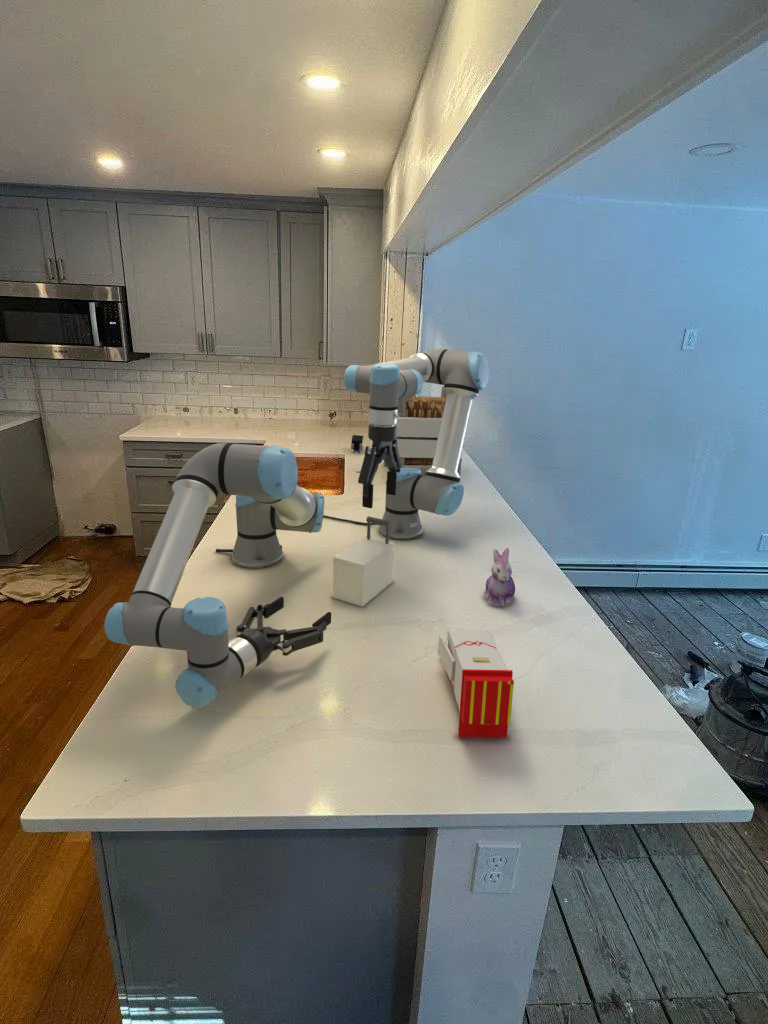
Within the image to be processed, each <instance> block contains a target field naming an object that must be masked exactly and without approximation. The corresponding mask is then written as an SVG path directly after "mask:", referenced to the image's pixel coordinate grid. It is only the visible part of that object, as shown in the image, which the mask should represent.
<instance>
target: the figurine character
mask: <svg viewBox="0 0 768 1024" xmlns="http://www.w3.org/2000/svg"><path fill="white" fill-rule="evenodd" d="M363 441H364V435H360V434H359V435H357V434H352V435H351V443H350V450H351V451H352V450H353V451H352V453H355V452H358V454H360V453H361V451H362V450H363V448H364V446H363V443H364V442H363Z"/></svg>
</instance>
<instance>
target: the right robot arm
mask: <svg viewBox="0 0 768 1024" xmlns="http://www.w3.org/2000/svg"><path fill="white" fill-rule="evenodd" d="M343 374H344V375H343V383H344V386H345V389H347V390H348V391H349V392H355V393H357V394H359V393H362V394H369V405H368V406H369V407H368V423H369V425H368V428H367V429H368V432H367V433H368V434H367V438H368V439H369V440H370V441H372V444H371V446H369V445H365V449H364V457H363V461H362V465H361V469H360V472H359V475H358V480H357V483H358V484H361V485H362V504H361V505H362V508H365V509H366V508H367V509H373V505H374V503H373V502H374V484H373V481H374V479H375V476H376V474H377V472H378V471H377V470H378V469H379V465H380V464H382V462H383V461H384V460H385V463H386V465H387V466H386V467H387V469H388V471H386V480H385V504H384V505H385V507H384V508H385V509H384V513H383V515H382V518H381V519H382V520H387V521H390V522H391V525H390V527H389V540H395V541H410V540H415V539H418V538H420V537H421V536H422V535H423V525H422V524H421V518H420V515H419V510H420V511H423V512H427V513H432V514H435V515H438V516H439V515H441V516H445V517H448V516H449V517H450V516H452V515H453V514H454V513H456V511H457V510H458V509H459V508H460V506H461V504H462V502H463V499H464V495H465V491H464V490H465V487H464V484H463V483H462V482H461V475H460V476H459V474H458V472H457V470H458V465H459V460H460V456H461V457H462V453H461V451H462V452H463V445H464V441H465V436H466V431H467V427H468V422H469V418H470V414H471V409H472V404H473V400H475V399H476V398H477V397H479V394H480V391H483V390H485V389H486V388H487V386H488V383H489V380H490V379H489V378H490V366H489V361H488V359H487V356H486V355H485V354H484V353H482V352H479V351H473V350H461V349H447V348H435V349H431V350H430V349H429V350H425V351H421V352H416V353H413V354H411V355H410V356H409V357H405V358H401V359H395V360H389V361H383V362H379V363H374V364H368V365H360V364H351V365H349V366H348V367H347V368H345V371H344V373H343ZM424 383H426V384H427V383H428V384H434V385H440V386H443V387H444V389H443V390H444V391H445V393H446V395H447V397H446V401H445V406H444V411H443V416H442V420H441V425H440V430H439V435H438V439H437V444H436V449H435V453H434V458H433V463H432V465H430V467H429V468H428V469H426V470H425V475H423V474H422V470H421V468H419V467H412V466H411V467H408V466H406V467H404V468H401V462H400V457H399V452H398V447H397V439H396V433H397V427H396V426H395V424H397V417H398V414H397V409H398V400H399V399H404V398H411V397H413V396H415V397H417V395H419V394H420V393H421V392H422V390H423V389H424ZM396 463H397V464H396ZM323 518H326V519H330V520H335V521H341V522H346V523H351V524H357V525H364V526H367V524H368V522H363V521H356V520H352V519H345V518H339V517H335V516H329V515H325V514H323ZM371 526H378V533H379V534H380V535H381V536H382V537H385V538H386V526H383V525H378V524H374V523H371Z"/></svg>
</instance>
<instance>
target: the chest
mask: <svg viewBox="0 0 768 1024" xmlns="http://www.w3.org/2000/svg"><path fill="white" fill-rule="evenodd" d="M394 555H395V547H394V548H393V549H391V550H390V551H388V552H387V553H386V554H384V555H383V556H382V557H380V558H379V559H377V560H376V561H375V562H373V563H372V564H371V565H369V566H368V567H366V568H365V569H360V568H357V567H353V566H350V565H346V564H342V563H339V562H335V561H334V560H333V574H332V575H333V579H332V580H333V581H332V598H333V599H335V600H340V601H343V602H347V603H349V604H353V605H355V606H359V607H364V606H365V605H366V604H367V603H369V602H370V601H371V600H372V599H373V598H374V597H376V596H377V595H378V594H380V593H381V592H382V591H383V590H384V589H386V588H387V587H388V586H389V585H390V584H392V583H393V577H394V576H393V575H394V573H393V572H394V557H395V556H394Z"/></svg>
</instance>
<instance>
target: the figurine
mask: <svg viewBox="0 0 768 1024" xmlns="http://www.w3.org/2000/svg"><path fill="white" fill-rule="evenodd" d="M492 552H493V553H492V554H493V564H492V567H491V569H490V570H491V575H490V576H489V577H488V578H487V579H486V581H485V591H484V599H485V600H486V601H487V603H488V604H489V605H491V606H494V607H504V606H508V605H510V604H511V603H512V602H513V600H514V596H515V593H516V584H515V581H514V579H513V577H512V573H513V570H512V566H511V564H510V562H509V557H510V548H509V547H505V549H504V550H503V552H502V553H501V554H500V552H499V551H498V549H497V548H493V549H492Z"/></svg>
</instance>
